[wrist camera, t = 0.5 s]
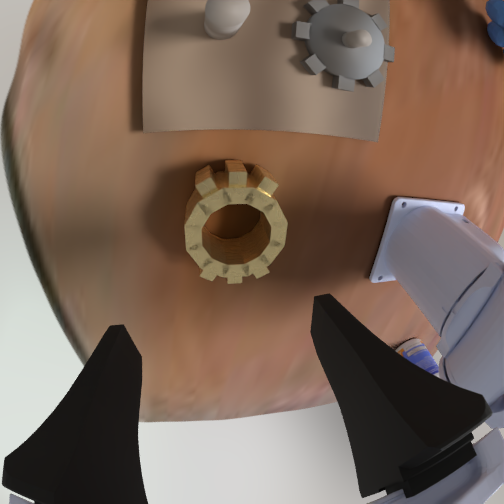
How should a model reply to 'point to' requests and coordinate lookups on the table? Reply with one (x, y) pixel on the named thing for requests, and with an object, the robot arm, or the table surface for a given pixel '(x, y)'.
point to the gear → (249, 245)
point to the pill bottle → (418, 355)
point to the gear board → (266, 65)
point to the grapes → (496, 21)
